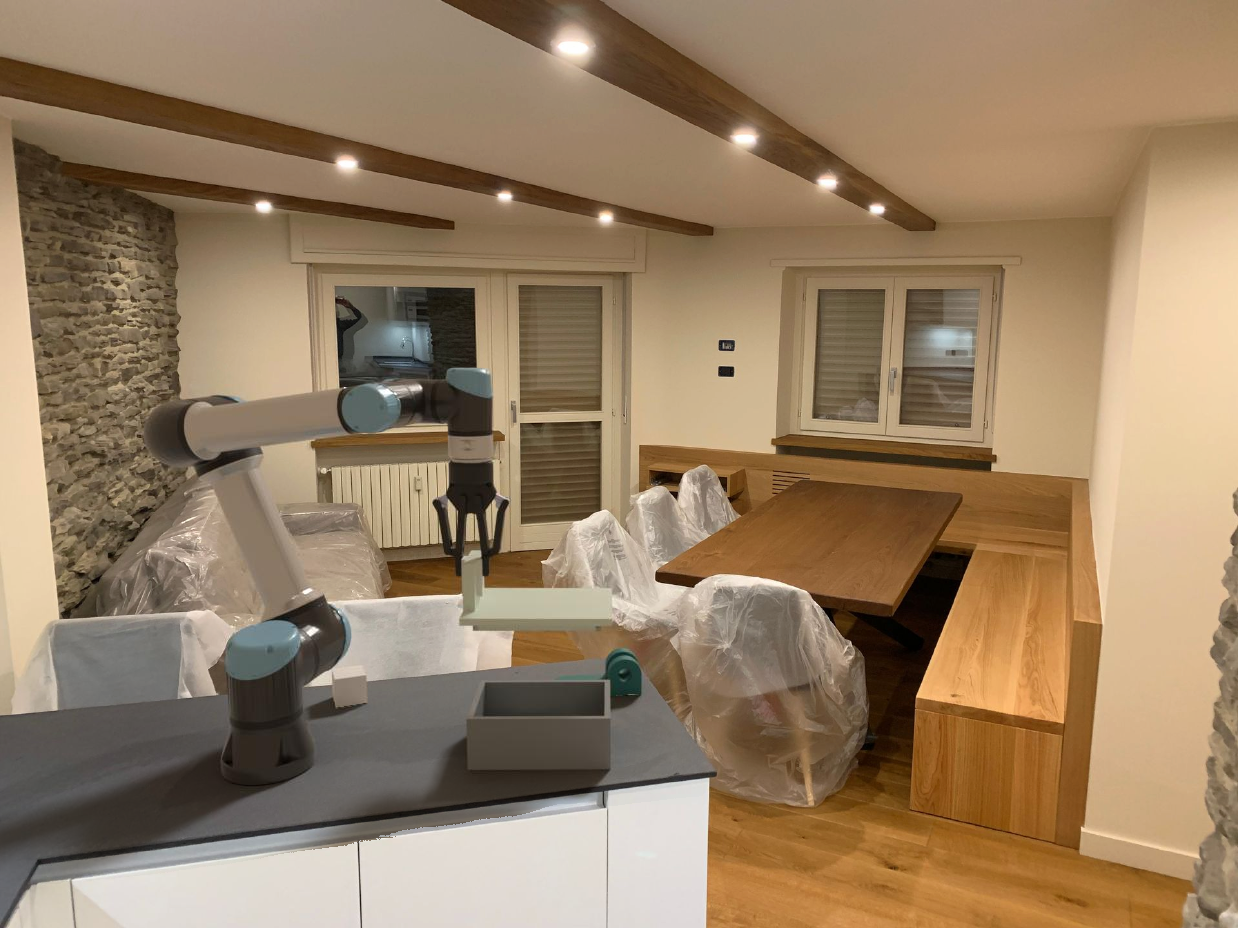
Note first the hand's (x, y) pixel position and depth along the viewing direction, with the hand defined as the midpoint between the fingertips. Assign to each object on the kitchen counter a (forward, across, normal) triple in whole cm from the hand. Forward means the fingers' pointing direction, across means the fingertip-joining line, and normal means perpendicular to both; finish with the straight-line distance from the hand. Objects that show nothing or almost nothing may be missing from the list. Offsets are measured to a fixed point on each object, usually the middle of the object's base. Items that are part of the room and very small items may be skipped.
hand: (473, 593), depth 155 cm
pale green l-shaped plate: (+4, +12, 0) cm, 12 cm away
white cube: (+28, -28, +21) cm, 45 cm away
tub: (+28, +12, 0) cm, 30 cm away
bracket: (+28, +21, +26) cm, 44 cm away
